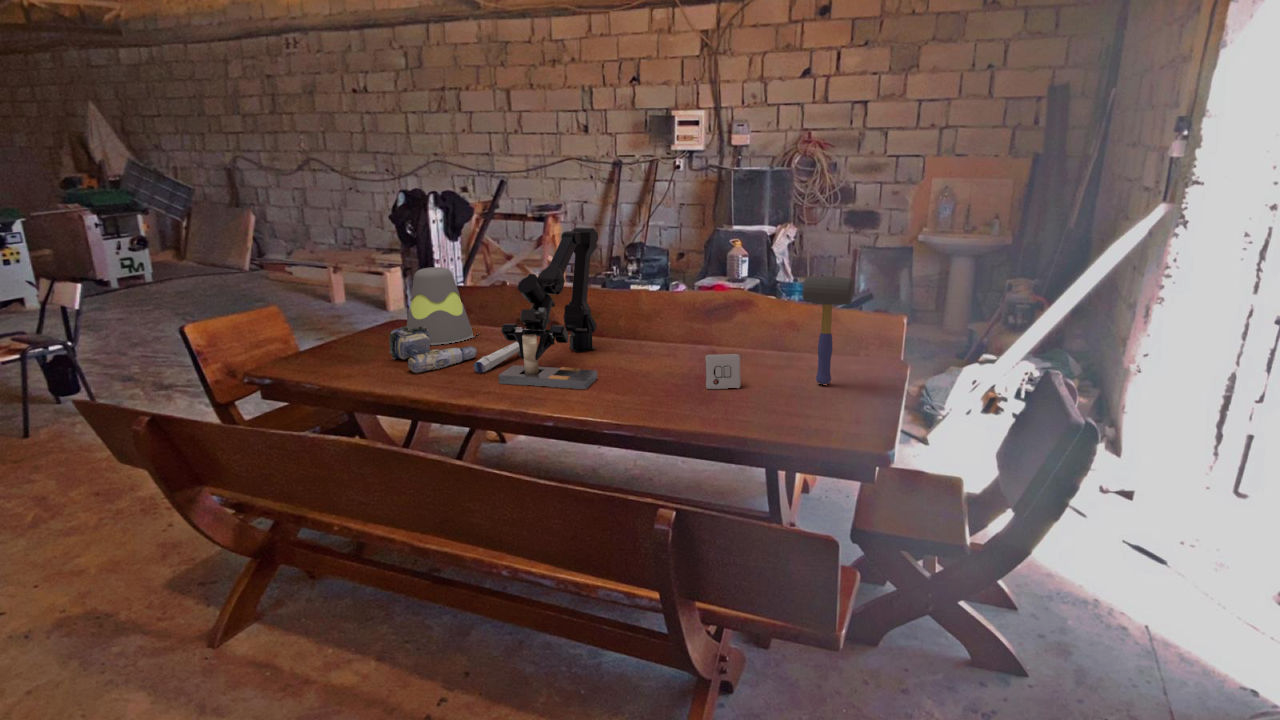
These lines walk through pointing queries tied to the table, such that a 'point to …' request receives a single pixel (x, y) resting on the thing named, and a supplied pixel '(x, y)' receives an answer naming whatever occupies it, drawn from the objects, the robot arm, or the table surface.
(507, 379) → the grey peg hole board
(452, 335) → the grey tapered bucket
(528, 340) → the birch peg
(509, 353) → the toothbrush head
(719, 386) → the electrical switch
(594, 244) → the robot arm
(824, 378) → the rubber mallet
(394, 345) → the power drill
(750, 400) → the table surface
